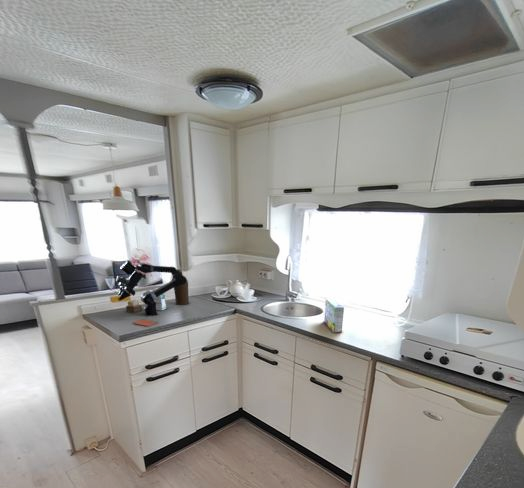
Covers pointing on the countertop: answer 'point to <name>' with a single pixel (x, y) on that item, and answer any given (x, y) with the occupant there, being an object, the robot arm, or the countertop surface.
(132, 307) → the tower
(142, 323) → the mat
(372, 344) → the countertop surface
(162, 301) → the syrup box
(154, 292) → the robot arm
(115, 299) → the bar
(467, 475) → the countertop surface
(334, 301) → the snack box
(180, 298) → the olive oil
